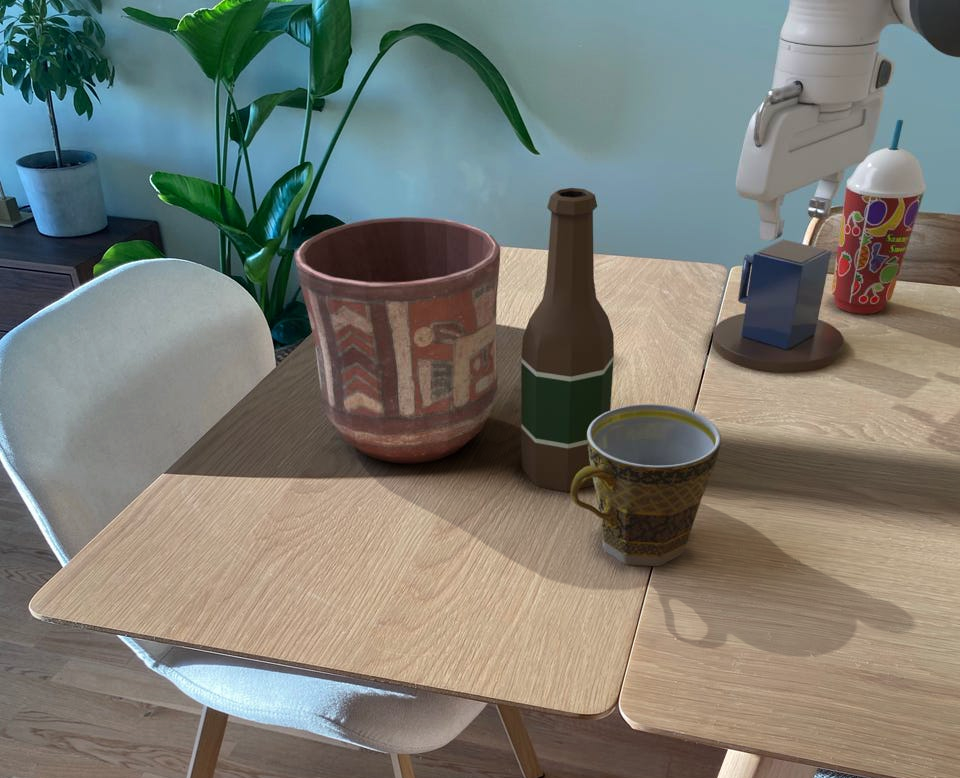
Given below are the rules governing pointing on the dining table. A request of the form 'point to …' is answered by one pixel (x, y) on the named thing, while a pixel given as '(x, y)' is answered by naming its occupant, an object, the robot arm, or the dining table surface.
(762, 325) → the mug
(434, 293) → the pottery
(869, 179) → the smoothie
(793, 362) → the coaster
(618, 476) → the ceramic cup
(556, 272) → the beer bottle
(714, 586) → the dining table surface
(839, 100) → the robot arm
